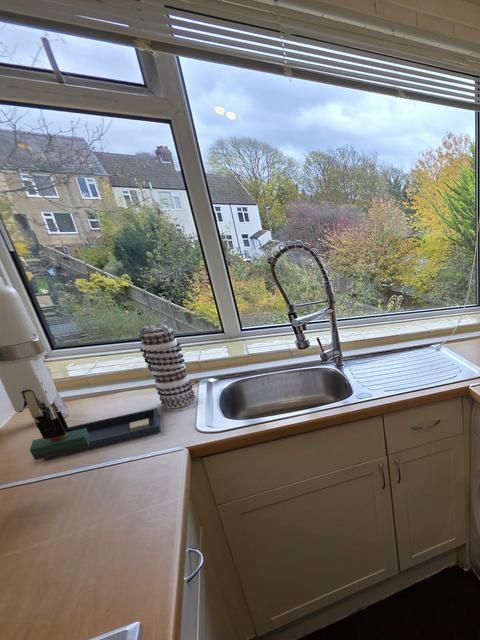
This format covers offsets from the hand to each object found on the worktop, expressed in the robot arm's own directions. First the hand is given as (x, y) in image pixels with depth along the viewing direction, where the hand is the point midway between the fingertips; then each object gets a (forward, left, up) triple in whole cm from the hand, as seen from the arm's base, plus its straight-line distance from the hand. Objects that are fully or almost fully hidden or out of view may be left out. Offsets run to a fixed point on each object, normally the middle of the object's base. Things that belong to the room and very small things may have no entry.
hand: (56, 432), depth 85 cm
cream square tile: (+11, +22, -12) cm, 27 cm away
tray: (+4, +22, -13) cm, 26 cm away
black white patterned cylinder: (+20, +34, -13) cm, 42 cm away
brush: (0, 0, -4) cm, 4 cm away
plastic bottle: (-8, +44, -13) cm, 47 cm away
